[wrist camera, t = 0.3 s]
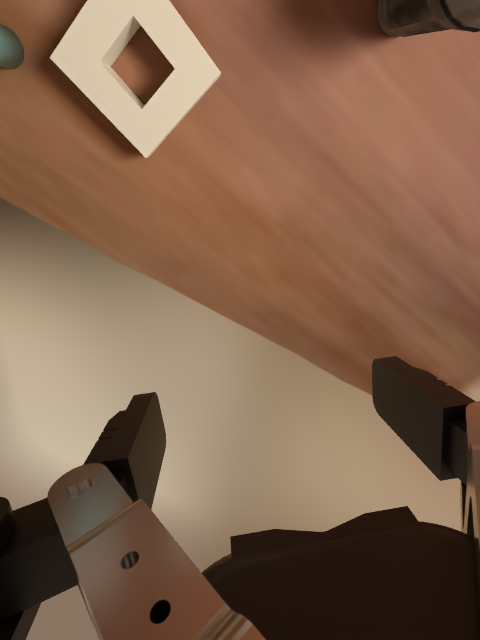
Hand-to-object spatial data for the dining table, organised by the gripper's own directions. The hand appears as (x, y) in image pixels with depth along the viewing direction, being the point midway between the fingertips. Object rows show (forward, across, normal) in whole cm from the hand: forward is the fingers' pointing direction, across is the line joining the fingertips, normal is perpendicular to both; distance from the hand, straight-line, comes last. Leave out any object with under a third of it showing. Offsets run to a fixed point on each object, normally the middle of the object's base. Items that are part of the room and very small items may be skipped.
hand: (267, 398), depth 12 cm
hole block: (+25, +5, -22) cm, 34 cm away
